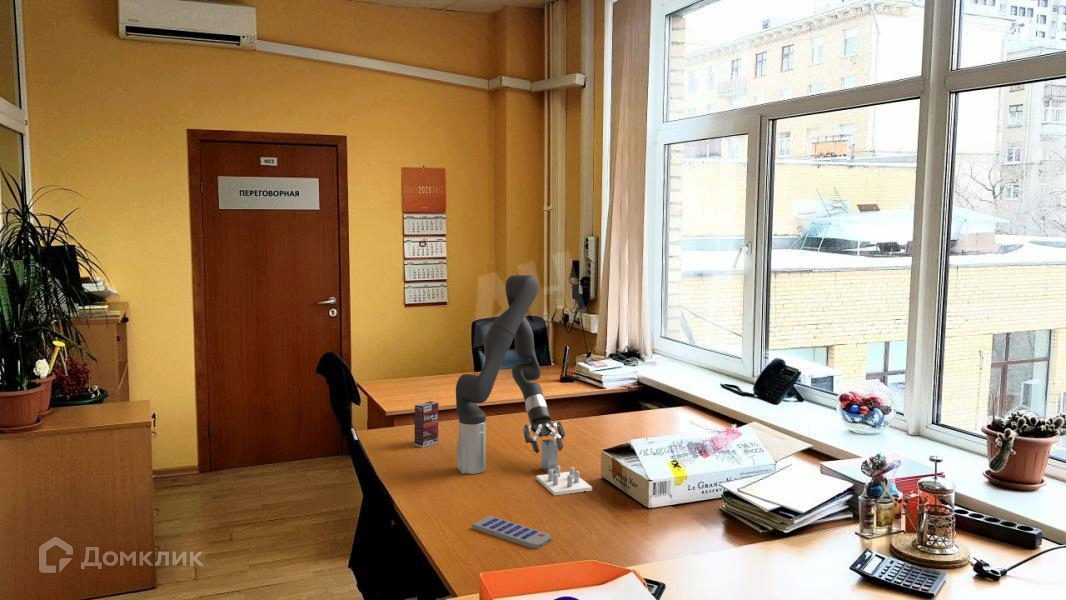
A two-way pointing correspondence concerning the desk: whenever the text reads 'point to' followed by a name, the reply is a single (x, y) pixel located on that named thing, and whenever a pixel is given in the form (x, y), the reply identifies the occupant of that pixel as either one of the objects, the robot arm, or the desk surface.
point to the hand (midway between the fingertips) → (549, 450)
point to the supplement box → (426, 424)
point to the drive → (549, 455)
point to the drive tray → (563, 482)
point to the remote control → (512, 532)
